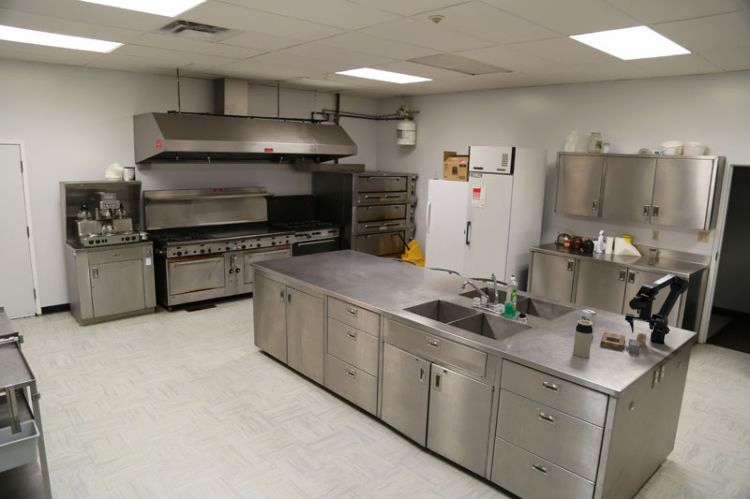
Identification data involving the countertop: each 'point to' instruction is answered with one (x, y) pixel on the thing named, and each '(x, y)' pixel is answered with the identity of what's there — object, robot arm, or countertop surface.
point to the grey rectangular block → (633, 346)
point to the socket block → (612, 341)
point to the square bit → (641, 339)
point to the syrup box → (589, 317)
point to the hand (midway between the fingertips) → (642, 334)
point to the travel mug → (583, 338)
